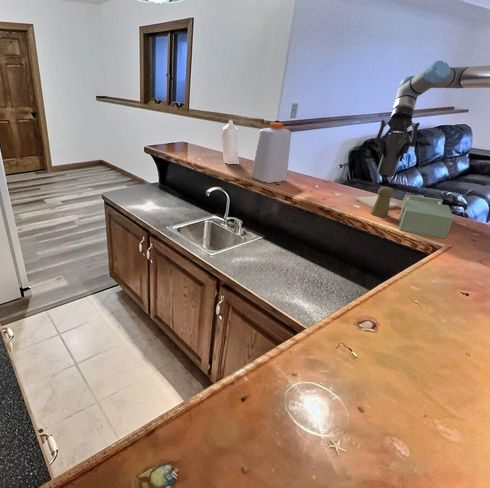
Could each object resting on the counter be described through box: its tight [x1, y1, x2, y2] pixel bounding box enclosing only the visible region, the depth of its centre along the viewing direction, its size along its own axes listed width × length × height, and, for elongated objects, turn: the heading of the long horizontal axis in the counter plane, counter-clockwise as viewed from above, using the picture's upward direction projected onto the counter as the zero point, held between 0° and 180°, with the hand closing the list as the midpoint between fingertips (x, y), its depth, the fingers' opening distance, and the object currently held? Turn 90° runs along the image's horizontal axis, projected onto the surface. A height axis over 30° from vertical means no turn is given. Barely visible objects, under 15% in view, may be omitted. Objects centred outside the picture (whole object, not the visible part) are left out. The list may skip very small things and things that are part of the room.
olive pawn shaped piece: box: [370, 186, 395, 218], centre depth 137 cm, size 6×6×11 cm
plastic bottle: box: [251, 122, 292, 184], centre depth 176 cm, size 15×15×28 cm
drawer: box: [400, 193, 444, 209], centre depth 136 cm, size 18×12×6 cm
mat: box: [354, 195, 400, 209], centre depth 151 cm, size 12×12×1 cm
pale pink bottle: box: [221, 119, 240, 165], centre depth 207 cm, size 12×11×25 cm
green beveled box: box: [398, 199, 455, 240], centre depth 126 cm, size 15×14×8 cm
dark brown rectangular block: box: [376, 131, 407, 176], centre depth 141 cm, size 6×6×16 cm
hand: (390, 158), depth 139 cm, fingers closed on dark brown rectangular block, 6 cm apart
